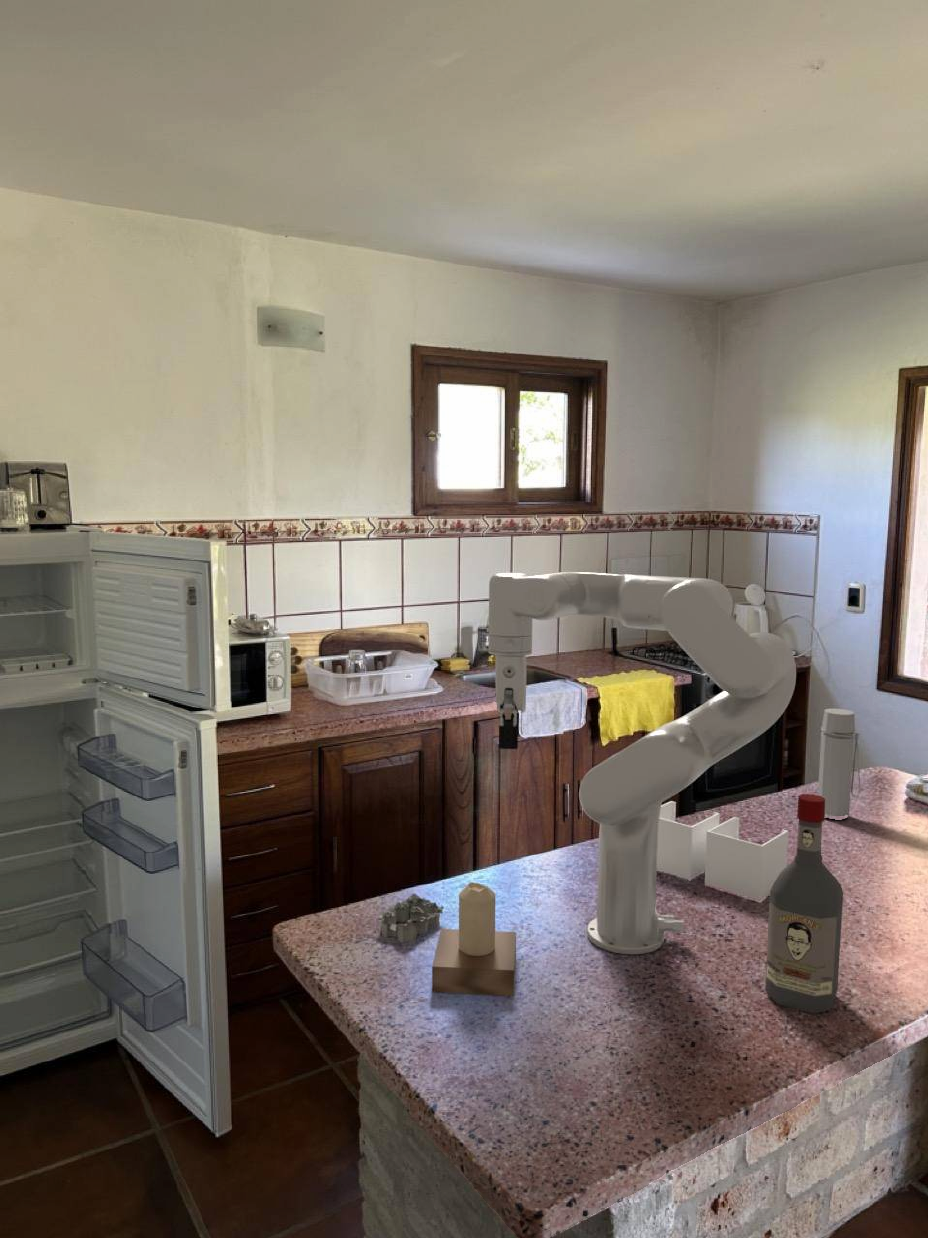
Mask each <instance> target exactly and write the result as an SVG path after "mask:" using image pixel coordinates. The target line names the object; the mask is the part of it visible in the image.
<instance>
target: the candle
mask: <svg viewBox="0 0 928 1238" xmlns="http://www.w3.org/2000/svg"><path fill="white" fill-rule="evenodd" d="M458 899H459V900H458V930H459V949H460V951H461V952H463V953H464V954H467V955H470V956H484V955H488V954H490V953H492V952H493V951H494V948H495V931H496V893H495V892H494V891H493V890H492V889H491V888H490V887H489V886H487V885H483V884H482V883H479V882H473V881H471V882H469V883H468V884H466V886H464V888H463V889H461V891H460V892H459V893H458Z"/></svg>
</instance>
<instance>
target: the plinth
mask: <svg viewBox="0 0 928 1238" xmlns="http://www.w3.org/2000/svg"><path fill="white" fill-rule="evenodd" d="M516 956H517V931H502V930H501V931H499V930H497V931H496V930H495V948H494V951H493V952H492V953H490V954H488V955H484V956H470V955H467V954H464V953H463V952H461V951H460V949H459V929H457V928H456V929H455V928H454V929H452V928H440V932H439V935H438V940H437V945H436V950H435V953H434V956H433V957H434V958H433V961H432V966H431V972H432V973H431V983H432V984H431V990H432V991H431V992H432V993H437V994H438V993H439V994H440V993H442V994H460V995H461V994H463V995H483V996H502V997H504V996H505V997H515V979H516V975H515V974H516V960H517V957H516Z"/></svg>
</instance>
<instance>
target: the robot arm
mask: <svg viewBox="0 0 928 1238" xmlns="http://www.w3.org/2000/svg"><path fill="white" fill-rule="evenodd" d="M488 582H489V585H488V593H489V594H488V654H490V655H493V656H495V662H494V664H495V665H494V666H495V667H494V668H495V669H494V670H495V671H494V672H495V674H494V677H495V680H494V681H495V700H496V710H497V711H498V712H499V713H500V718H499V719H500V720H499V721H500V722H499V725H498V748H499V749H502V750H517V749H518V747H519V745H518V743H519V742H518V741H519V734H520V711H521V713H522V714H523V713H525V712H526V706H527V656H529V655H532V654H533V620H539V621H551V620H554V619H558V618H562V617H567V616H568V617H569V616H586V617H587V616H588V617H601V618H607V619H612V620H617V621H618V622H620V624H621V625H622V626H623V627H626V628H627V629H628V628H629V629H640V630H655V631H665V632H666V631H667V633H668V634H669V635H670V636H671V638H672V639H673V640H674V641H675V642H676V644H678V646H679V647H680V648H681V649H682V650H683V651H684V652H685V653H686V654H687V655H688V656H689V657H690V658H691V660H692V661H693V662H695V664H696V665H697V666H698V667H699V668H700V669H701V670H702V671H703V672H704V673H705V674H706V676H708V677H709V679H710V680H711V681H713V683H715V684H716V685H717V686H718V688H720V689H721V690H722V691H721V692H720V693H718V694H716V695H714V696H713V697H711V698H710V699H708V700H707V701H705V702H703V704H701V705H699V706H698V707H696V708H694V709H693V710H692V711H689V712H688V713H686V714H685V715H683V716H681V717H679V718H676V719H675V720H673V721H670V722H667V723H665V724H663V725H660V726H659V727H657V728H656V729H654V730H652V731H651V732H649V733H647V734H645V735H644V736H642V737H641V738H639V739H638V740H636V741H635V742H632V743H631V744H630V745H628V746H627V747H625V748H623V749H622V750H620V751H618V752H616V753H615V754H613V755H611V756H610V757H607V758H606V759H605V760H603V761H602V762H600V763H599V764H597V765H595V766H594V767H592V768H591V769H590V770H588V772H586V774H585V775H584V776H583V778H582V780H581V782H580V786H579V792H578V797H579V802H580V803H579V804H580V806H581V808H582V810H583V812H584V813H585V814H586V815H587V816H588V817H589V818H590V819H591V820H592V821H594V822H596V823H598V824H599V831H598V832H599V833H598V834H599V835H598V854H597V855H598V864H597V895H596V896H597V897H596V899H597V900H596V906H597V907H596V917H595V918H593V919H592V920H591V921H590V922H589V923H588V925H587V929H586V930H587V932H586V934H587V938H588V939H589V941H590V942H591V943H593V944H594V945H595V946H597V947H598V948H600V949H602V950H606V951H608V952H612V953H616V954H619V955H620V954H622V955H643V954H648V953H651V952H654V951H656V950H658V949H660V947H662V946H663V945H664V941H665V932H668V933H669V932H672V933H685V921H684V920H683V919H682V920H681V919H680V920H679V919H675V916H674V914H660V912H658V911H657V908H656V905H657V904H656V902H657V901H656V899H657V872H658V871H657V850H658V829H659V818H660V810H661V805H663V804H662V803H663V802H665V801H666V800H669V799H670V798H672V797H673V796H675V795H677V794H678V793H679V792H682V791H683V790H685V789H686V788H687V787H688V786H690V785H691V784H692V783H694V782H695V781H696V780H697V779H698V778H699V777H701V775H703V774H704V773H705V772H706V771H707V770H708V769H709V768H710V767H712V766H713V765H714V764H716V763H718V762H719V761H722V760H723V759H724V758H727V757H728V756H729V755H731V754H733V753H734V752H736V751H738V750H739V749H741V748H742V747H744V746H745V745H747V744H748V743H751V742H752V741H753V740H755V739H756V738H758V737H760V736H761V735H762V734H764V733H765V732H767V730H769V729H770V728H772V726H773V725H774V724H775V723H776V722H777V721H778V720H779V718H781V716H782V715H783V713H784V712H785V710H786V709H787V708H788V705H789V704H790V702H791V699H792V698H793V697H792V696H793V695H794V691H795V687H796V682H797V681H796V679H797V668H796V667H797V666H796V661H795V657H794V653H793V651H792V650H791V647H790V645H789V644H788V642H786V641H785V639H783V638H781V637H780V636H778V635H776V634H774V633H769V632H753V633H748V632H747V631H746V630H745V629H744V628H743V627H742V626H741V625H740V624H739V623H738V622H737V621H736V620H735V619H734V618H733V616H732V614H733V607H734V602H733V598H732V594H731V593H730V591H729V590H728V588H727V587H726V586H725V585H724V584H722V583H721V582H720V581H717V580H715V579H710V578H704V577H703V578H702V577H701V578H700V577H682V576H665V575H664V576H663V575H662V576H661V575H660V576H659V575H645V574H644V575H643V574H614V573H613V574H612V573H599V572H598V573H597V572H580V571H579V572H577V571H565V572H564V571H563V572H554V573H546V574H541V575H539V574H538V575H531V576H530V575H529V574H526V573H521V572H499V573H495V574H493V575H492V576H491V577H490V579H489V581H488Z"/></svg>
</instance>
